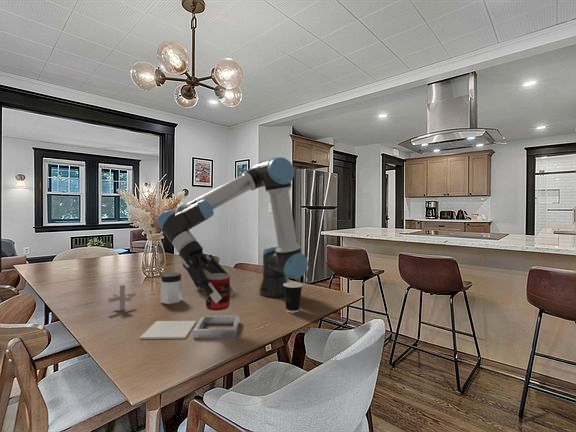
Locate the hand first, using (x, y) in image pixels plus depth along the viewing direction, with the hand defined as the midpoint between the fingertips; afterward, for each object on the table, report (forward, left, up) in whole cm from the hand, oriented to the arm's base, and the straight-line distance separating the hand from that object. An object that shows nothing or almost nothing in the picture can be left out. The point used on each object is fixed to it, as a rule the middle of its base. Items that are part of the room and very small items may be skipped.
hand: (226, 297), depth 103 cm
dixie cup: (-24, -20, -12) cm, 34 cm away
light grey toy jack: (+45, -23, -12) cm, 52 cm away
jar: (+29, -34, -12) cm, 46 cm away
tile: (+19, -1, -12) cm, 22 cm away
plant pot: (+19, -56, -12) cm, 60 cm away
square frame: (+3, -1, -12) cm, 12 cm away
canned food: (+3, -2, -4) cm, 5 cm away
